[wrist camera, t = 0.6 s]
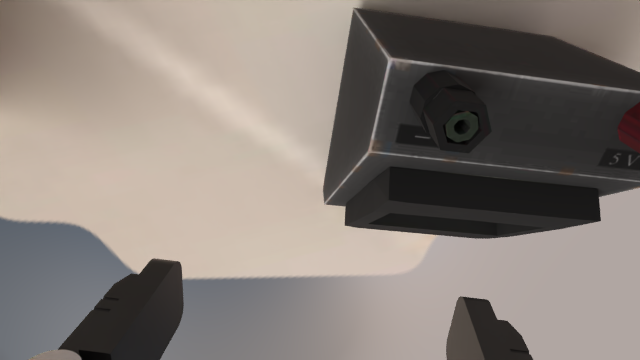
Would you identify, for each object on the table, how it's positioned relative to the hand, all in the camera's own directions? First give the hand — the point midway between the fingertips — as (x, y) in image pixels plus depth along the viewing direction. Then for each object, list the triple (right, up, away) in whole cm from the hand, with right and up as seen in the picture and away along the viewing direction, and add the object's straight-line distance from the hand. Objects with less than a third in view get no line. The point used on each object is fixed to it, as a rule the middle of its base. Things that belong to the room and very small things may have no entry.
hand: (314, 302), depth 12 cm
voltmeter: (+9, +9, +26) cm, 29 cm away
